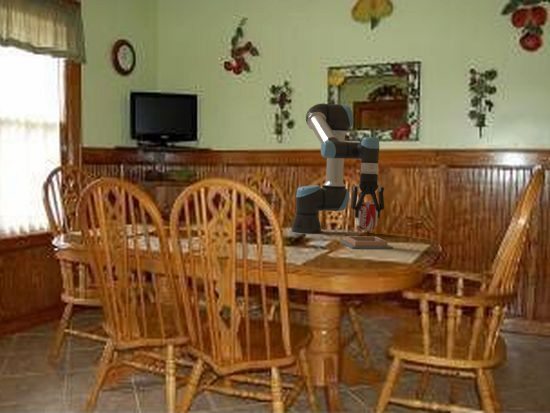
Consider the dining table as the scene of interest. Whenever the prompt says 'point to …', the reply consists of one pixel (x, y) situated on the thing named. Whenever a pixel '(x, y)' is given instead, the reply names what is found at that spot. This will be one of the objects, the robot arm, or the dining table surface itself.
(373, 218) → the soda can
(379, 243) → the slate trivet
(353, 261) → the dining table surface
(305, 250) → the dining table surface
